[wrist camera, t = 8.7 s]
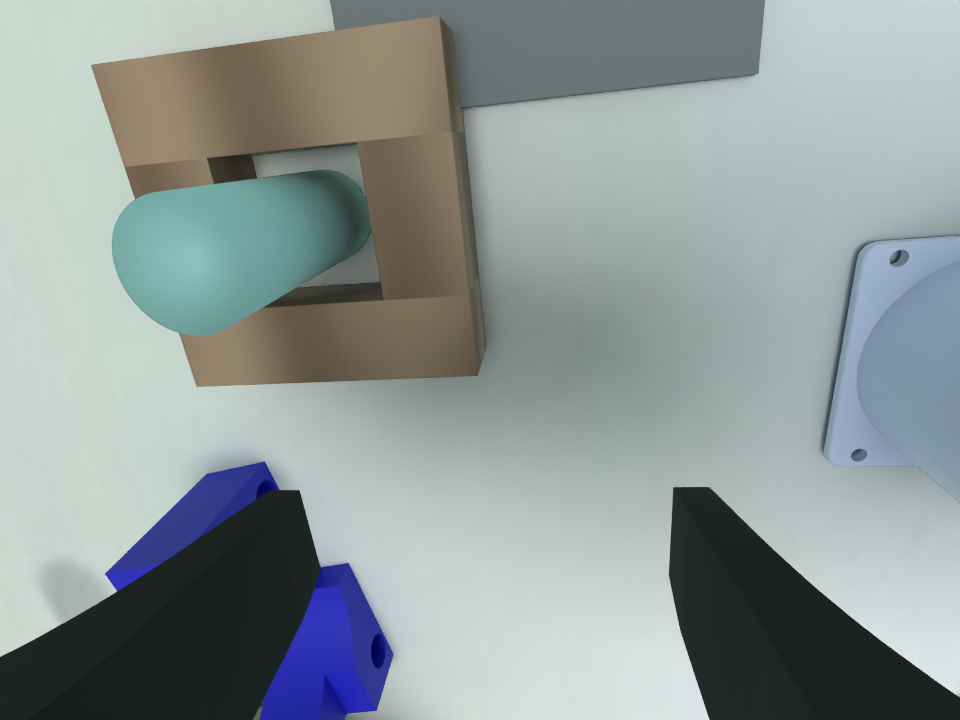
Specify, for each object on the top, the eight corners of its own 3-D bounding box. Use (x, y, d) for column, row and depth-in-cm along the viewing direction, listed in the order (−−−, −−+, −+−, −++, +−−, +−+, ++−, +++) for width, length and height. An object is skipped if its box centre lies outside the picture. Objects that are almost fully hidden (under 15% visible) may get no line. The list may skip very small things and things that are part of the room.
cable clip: (394, 651, 27) (354, 785, 21) (315, 660, 28) (258, 790, 22) (296, 452, 22) (215, 554, 17) (209, 471, 23) (105, 573, 18)
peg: (365, 168, 17) (234, 189, 10) (375, 258, 19) (264, 336, 11) (279, 171, 18) (92, 193, 10) (295, 259, 19) (136, 335, 12)
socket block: (455, 34, 16) (439, 15, 13) (485, 347, 19) (477, 375, 17) (152, 75, 17) (90, 65, 15) (235, 359, 21) (196, 386, 18)
